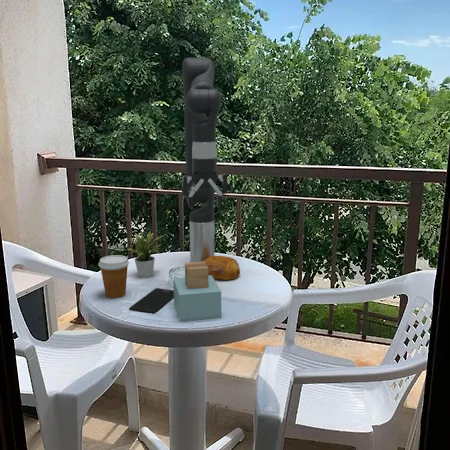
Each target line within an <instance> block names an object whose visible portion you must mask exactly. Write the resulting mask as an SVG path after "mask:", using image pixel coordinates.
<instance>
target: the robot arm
mask: <svg viewBox="0 0 450 450" xmlns="http://www.w3.org/2000/svg"><path fill="white" fill-rule="evenodd" d="M214 64H215V63H214V61H213V60H212V59H211V58H210V57H185V58H184V59H183V61H182V67H181V68H182V71H181V72H182V86H183V98H184V102H183V103H184V149H185V152H184V153H185V175H182V177H181V194H182V195H183V196H185V201H186V202H187V206H188V207H189V208H190V210H193V211H191V212H190V213H189V252H190V253H189V255H190V257H189V258H190V259H189V260H190V262H189V263H192V262H202V261H204V260H206V259H207V258H209V257H210V256H215V194H216V207H217V208H221V206H222V204H223V196H224V195H226V194H228V193H229V187H228V186H229V185H228V175H227V174H225V173H222V174H218V172H217V171H218V169H217V167H218V166H217V163H218V158H217V156H218V152H217V142H216V141H217V137H216V136H217V135H216V132H217V129H216V127H217V120H218V116H219V112H220V109H221V106H222V95H221V92H219V90H218V89H214V82H215V81H214V80H215V65H214ZM206 114H209V116H207V115H206ZM218 180H219V181H220V182H221V189H219V187H218V186H217V185H216V184H217V182H218ZM197 203H198V204H199V203H205V204H204V205H203V206H202V207H200V208H198V209H196V210H194V204H197Z"/></svg>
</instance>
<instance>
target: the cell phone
mask: <svg viewBox="0 0 450 450" xmlns="http://www.w3.org/2000/svg"><path fill="white" fill-rule="evenodd" d="M172 300H174V289H167V288H160V287H156V288H154V289H152V290H151V291H150V292H149V293H147V294H146V295H145V296H144V297H142V298H141V299H139V300H137V301H136V302H135V303H134V304H132V305H131V306H130V307H129V308H128V310H129V311H131V312H139V313H147V314H150V313H152V314H153V315H155V314H157V313H158V312H159V311H161V309H163V308H164V307H165V306H166V305H168V304H169V303H170V302H171V301H172ZM156 312H157V313H156ZM154 313H155V314H154ZM152 314H151V315H152Z"/></svg>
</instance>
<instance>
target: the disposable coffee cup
mask: <svg viewBox="0 0 450 450" xmlns="http://www.w3.org/2000/svg"><path fill="white" fill-rule="evenodd" d="M129 264H130V261H129V259H128V257H127V256H125V255H120V254H116V255H115V254H112V255H111V254H110V255H107V256H103V257H101V258H100V260H99V262H98V266H99V268H100V273H101V278H102V283H103V288H104V291H105V297H107V298H111V299H118V298H122V297H124V296H126V292H127V278H128V266H129Z"/></svg>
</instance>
